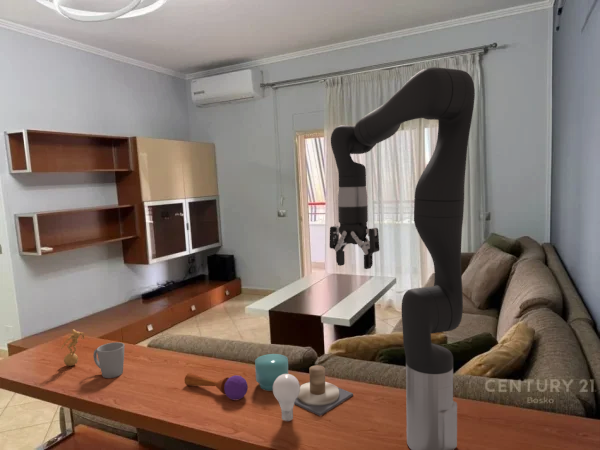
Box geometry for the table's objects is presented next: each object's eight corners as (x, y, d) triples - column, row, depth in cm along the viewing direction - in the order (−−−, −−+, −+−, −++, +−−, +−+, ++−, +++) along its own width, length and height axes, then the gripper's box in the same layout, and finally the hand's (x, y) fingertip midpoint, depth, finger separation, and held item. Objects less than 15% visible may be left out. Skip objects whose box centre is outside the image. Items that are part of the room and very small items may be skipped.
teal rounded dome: (295, 383, 117) (294, 359, 116) (271, 396, 111) (270, 370, 110) (273, 374, 123) (272, 351, 123) (249, 385, 117) (248, 361, 116)
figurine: (77, 359, 139) (74, 324, 138) (91, 361, 137) (88, 325, 136) (55, 370, 131) (52, 332, 130) (70, 372, 129) (66, 334, 128)
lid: (347, 393, 109) (347, 367, 109) (319, 410, 102) (319, 382, 101) (315, 381, 117) (315, 356, 116) (287, 395, 109) (286, 369, 109)
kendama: (196, 366, 122) (252, 374, 111) (196, 387, 121) (251, 398, 111) (181, 370, 117) (237, 379, 106) (180, 392, 116) (237, 404, 106)
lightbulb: (286, 410, 103) (284, 366, 102) (306, 418, 99) (305, 373, 98) (268, 422, 98) (266, 376, 97) (288, 431, 94) (287, 383, 93)
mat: (353, 395, 110) (352, 393, 110) (320, 416, 100) (320, 413, 100) (315, 380, 119) (315, 378, 118) (282, 398, 109) (282, 396, 109)
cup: (114, 381, 122) (112, 352, 121) (86, 377, 125) (84, 349, 124) (131, 370, 129) (130, 343, 129) (104, 367, 132) (102, 340, 131)
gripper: (384, 204, 107) (385, 267, 108) (340, 203, 116) (341, 262, 118) (367, 205, 101) (368, 272, 103) (322, 205, 111) (323, 266, 112)
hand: (353, 266), depth 110 cm, fingers open, 8 cm apart
